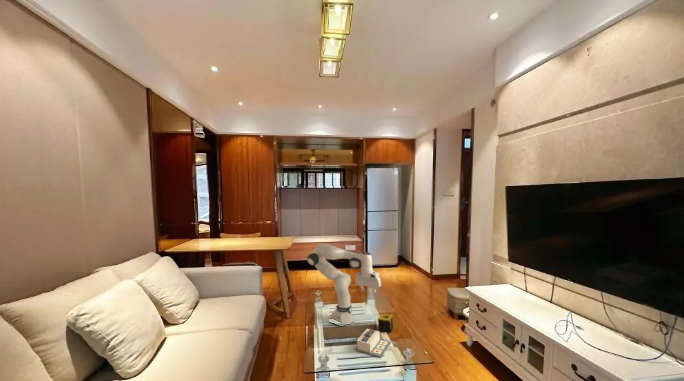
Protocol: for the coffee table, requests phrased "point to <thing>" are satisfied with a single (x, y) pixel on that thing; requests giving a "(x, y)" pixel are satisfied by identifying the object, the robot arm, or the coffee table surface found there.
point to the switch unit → (372, 344)
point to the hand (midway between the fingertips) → (368, 291)
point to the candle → (385, 323)
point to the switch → (368, 334)
